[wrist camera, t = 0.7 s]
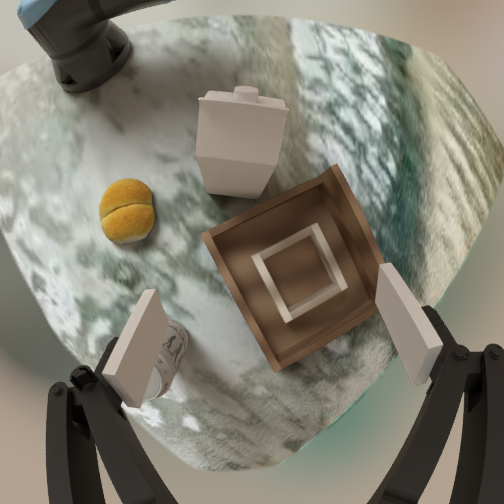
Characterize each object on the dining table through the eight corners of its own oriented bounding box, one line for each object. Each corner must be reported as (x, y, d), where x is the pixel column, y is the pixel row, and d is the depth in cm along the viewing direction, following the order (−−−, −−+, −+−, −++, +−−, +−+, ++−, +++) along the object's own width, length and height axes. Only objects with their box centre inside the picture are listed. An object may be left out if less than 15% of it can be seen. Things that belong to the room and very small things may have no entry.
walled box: (203, 236, 38) (196, 231, 30) (317, 180, 39) (337, 163, 31) (270, 362, 38) (280, 385, 30) (374, 301, 40) (402, 309, 32)
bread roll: (150, 175, 38) (143, 167, 34) (159, 236, 38) (152, 234, 34) (100, 189, 37) (88, 183, 33) (107, 248, 37) (95, 247, 33)
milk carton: (258, 199, 39) (286, 149, 20) (207, 193, 38) (189, 137, 19) (264, 152, 39) (292, 76, 20) (214, 146, 38) (207, 65, 19)
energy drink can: (195, 350, 37) (179, 400, 23) (157, 360, 37) (124, 411, 22) (180, 311, 37) (153, 342, 22) (141, 322, 37) (98, 356, 22)
